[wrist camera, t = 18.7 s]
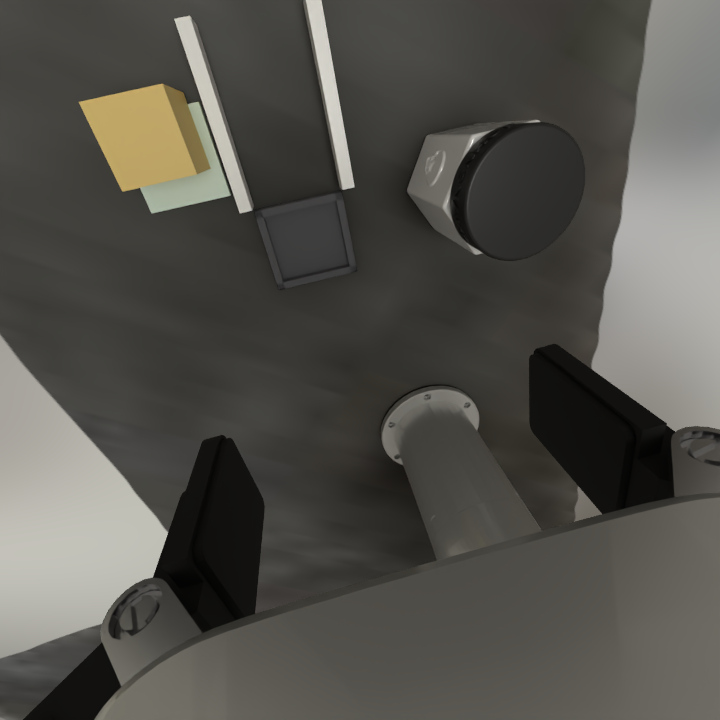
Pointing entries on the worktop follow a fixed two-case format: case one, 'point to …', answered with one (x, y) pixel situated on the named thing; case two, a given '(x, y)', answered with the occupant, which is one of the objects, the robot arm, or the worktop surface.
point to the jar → (500, 186)
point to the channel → (218, 118)
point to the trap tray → (307, 239)
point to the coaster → (195, 186)
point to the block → (147, 135)
